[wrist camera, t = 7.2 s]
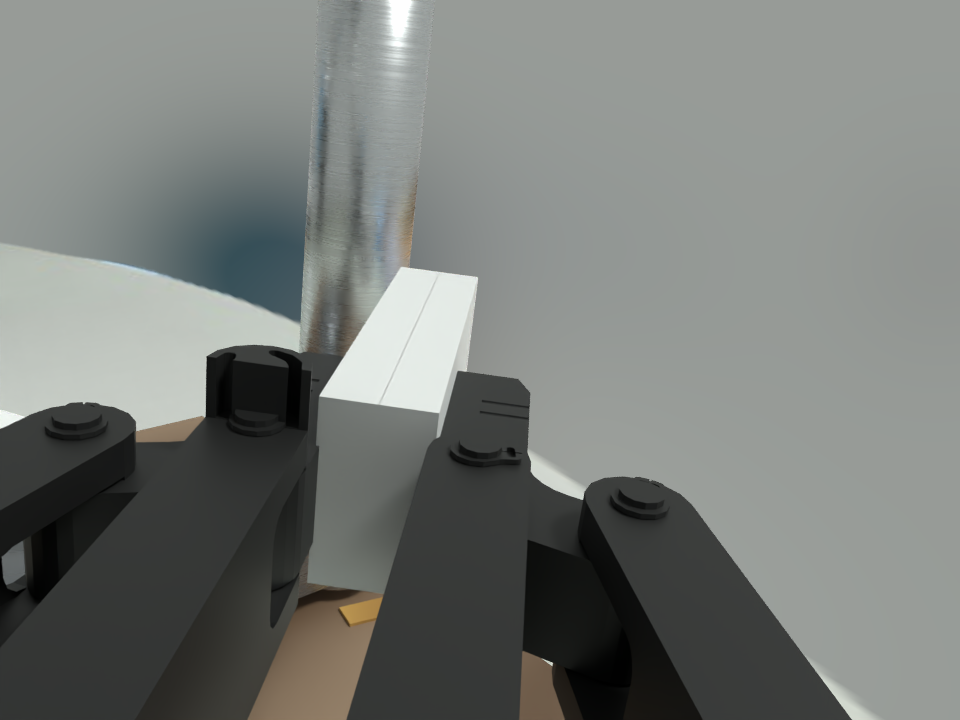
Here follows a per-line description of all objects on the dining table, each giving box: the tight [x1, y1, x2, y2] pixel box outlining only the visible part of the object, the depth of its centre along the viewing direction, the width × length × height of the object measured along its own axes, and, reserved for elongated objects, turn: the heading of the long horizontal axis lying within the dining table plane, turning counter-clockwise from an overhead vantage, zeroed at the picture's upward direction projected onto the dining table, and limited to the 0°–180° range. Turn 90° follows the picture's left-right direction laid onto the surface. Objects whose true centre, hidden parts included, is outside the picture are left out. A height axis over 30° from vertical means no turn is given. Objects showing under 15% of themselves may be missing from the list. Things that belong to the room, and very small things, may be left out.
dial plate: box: [136, 416, 565, 720], centre depth 18 cm, size 20×20×1 cm
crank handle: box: [2, 0, 435, 598], centre depth 16 cm, size 14×7×18 cm, turn 133°
